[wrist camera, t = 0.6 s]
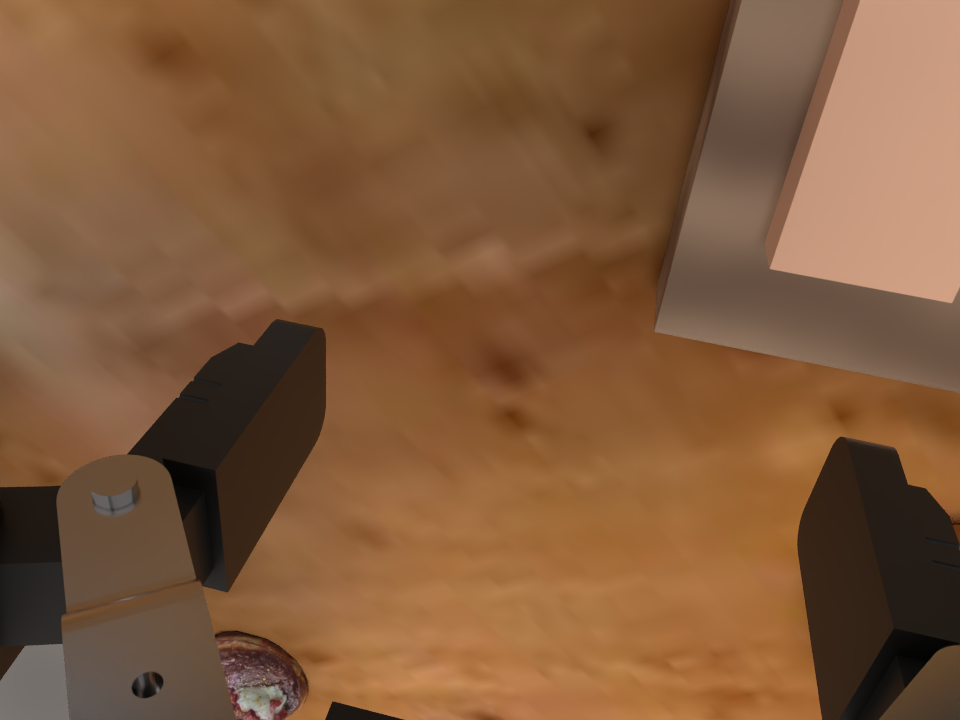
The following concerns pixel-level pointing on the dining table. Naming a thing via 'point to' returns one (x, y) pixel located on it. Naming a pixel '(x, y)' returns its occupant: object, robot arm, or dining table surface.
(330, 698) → the dining table surface
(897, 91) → the pink rectangular block
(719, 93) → the deck
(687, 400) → the dining table surface
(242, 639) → the pastry
